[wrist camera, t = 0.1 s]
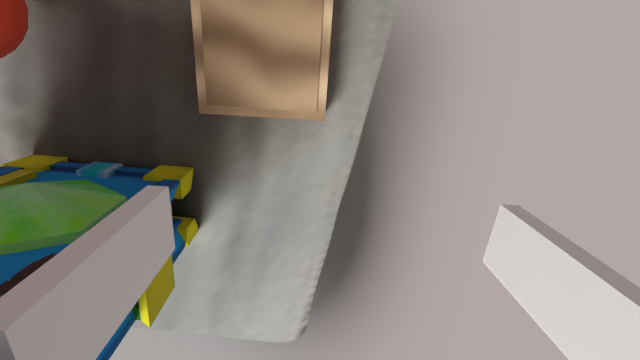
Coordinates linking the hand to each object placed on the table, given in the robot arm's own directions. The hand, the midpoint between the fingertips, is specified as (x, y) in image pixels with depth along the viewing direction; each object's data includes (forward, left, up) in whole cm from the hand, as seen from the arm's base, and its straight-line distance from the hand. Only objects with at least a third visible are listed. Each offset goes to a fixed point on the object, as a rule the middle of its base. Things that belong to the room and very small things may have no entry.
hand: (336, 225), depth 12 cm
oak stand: (-7, -6, -28) cm, 29 cm away
